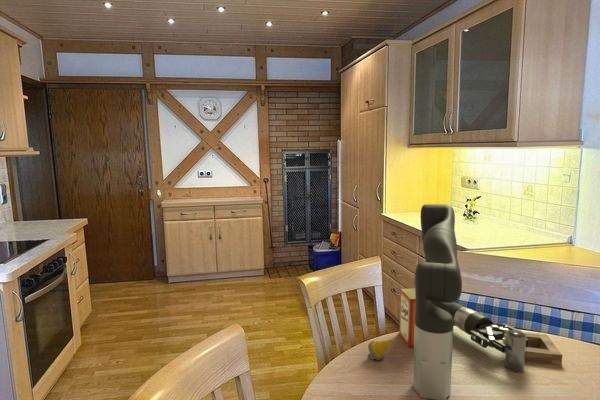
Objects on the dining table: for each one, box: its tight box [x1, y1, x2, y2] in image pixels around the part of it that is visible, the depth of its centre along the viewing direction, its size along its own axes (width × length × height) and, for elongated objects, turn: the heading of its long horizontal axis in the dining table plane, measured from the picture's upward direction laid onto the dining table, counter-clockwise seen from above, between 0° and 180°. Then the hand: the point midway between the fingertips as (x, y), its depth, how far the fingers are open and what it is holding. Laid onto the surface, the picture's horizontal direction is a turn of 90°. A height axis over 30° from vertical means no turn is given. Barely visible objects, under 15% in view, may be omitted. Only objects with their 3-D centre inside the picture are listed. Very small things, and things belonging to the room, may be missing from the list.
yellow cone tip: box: [367, 339, 393, 361], centre depth 114 cm, size 5×5×10 cm
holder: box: [503, 332, 563, 366], centre depth 118 cm, size 12×12×3 cm
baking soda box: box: [398, 287, 431, 349], centre depth 125 cm, size 10×6×16 cm
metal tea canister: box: [504, 329, 526, 374], centre depth 109 cm, size 5×5×10 cm
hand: (517, 346), depth 108 cm, fingers open, 8 cm apart
